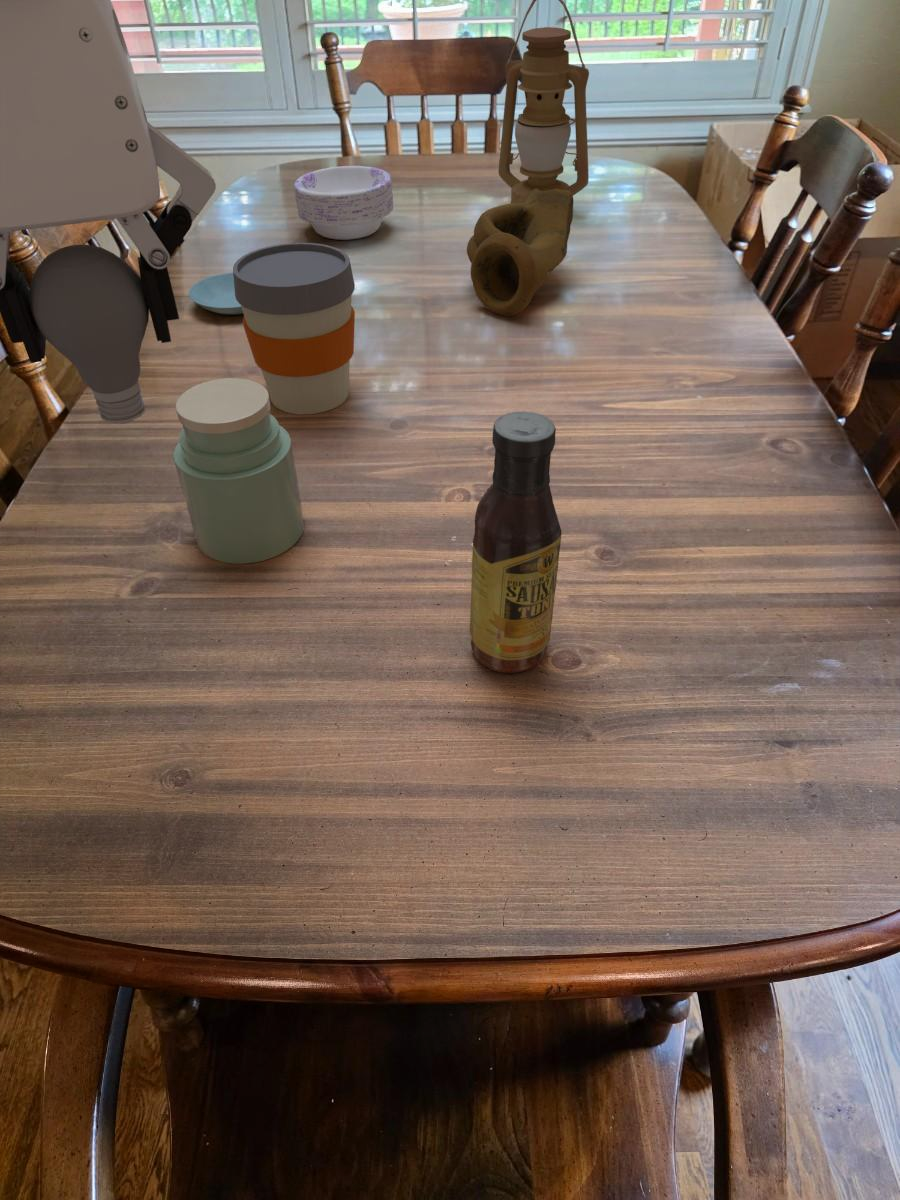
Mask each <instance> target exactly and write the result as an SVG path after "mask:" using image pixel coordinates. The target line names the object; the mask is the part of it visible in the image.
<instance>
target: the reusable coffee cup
mask: <svg viewBox="0 0 900 1200" xmlns="http://www.w3.org/2000/svg"><path fill="white" fill-rule="evenodd" d="M350 259H351V258H350V257H349V255H348V254H347V253H346V252H345V251H343V250H342V249H340V248H338V247H335V246H332V245H327V244H322V243H316V242H315V243H314V242H288V243H280V244H274V245H267V246H264V247H261V248H258V249H256V250H252V251H250V252H248V253H246V254H244V255H242V256H241V257H240V258H238V259H237V260H236V261H235V263H234V264H233V267H232V273H233V276H234V288H235V297H236V300H237V301H238V303H239V304H240V305H241V307H242V310H243V313H244V314H243V319H242V326H243V330H244V332H245V335H246V339H247V342H248V345H249V348H250V350H251V354H252V357H253V360H254V363H255V364H256V366H257V367H258V368H260V370H261V372H262V373H261V374H262V376H263V379H264V382H265V385H266V389H267V391H268V393H269V399H270V402H271V403H272V404H273V406H274V407H275V408H276V409H278V410H280V411H282V412H285V413H288V414H293V415H294V414H295V415H315V414H320V413H321V414H322V413H324V412H328V411H331V410H334V409H336V408H337V407H339V406H341V405H342V404H344V403H345V401H346V400H347V399H348V398H349V394H350V366H351V365H350V363H351V362H350V361H351V359H352V358H353V356H354V354H355V353H354V349H355V320H356V318H355V317H356V312H355V309H354V306H352V295H353V293H354V291H355V290H356V289H355V285H356V284H355V279H354V274H353V269H352V265H351V260H350Z"/></svg>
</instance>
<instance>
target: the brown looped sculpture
mask: <svg viewBox="0 0 900 1200" xmlns="http://www.w3.org/2000/svg"><path fill="white" fill-rule="evenodd" d="M573 216H574V196H572V194H571V192H570V191H568V190H566V191H563V190H560V189H553V190H550V191H539V190H538V189H537V188H536V189H534V190H533V191H532V192H531V193H529V194H528V195H527V196H525V197H522V198H521V199H519V200H518V201H517V202H516V203H512V204H510V203H507V204H502V205H497V206H494V207H491V208H489V209H487V210H485V211H484V212H483V213H482V214H481V215H480V216H479V217H478V218H477V221H476V223H475V225H474V228H473V235H472V236H471V237H470V238H469V240H468V242H467V245H466V254H467V257H468V260H469V262H470V264H471V265H470V279H471V282H472V287H473V289H474V292H475V294H476V296H477V298H478V299H479V301H480V302H481V304H483V306H484V307H485V308H486V309H487V310H489V311H490V312H492V313H493V314H494V313H495V314H497V315H500V316H505V317H507V316H513V315H517V314H518V313H520V312H522V311H523V310H524V309H526V308H527V307H528V305H530V302H532V300H533V297H534V295H535V293H537V292H538V291H539V290H540V289H541V287H542V286H543V284H544V283H545V281H546V278H547V277H548V274H549V273H551V272H552V271H554V270H555V269H556V268H557V267H558V266H559V265H561V263H562V262H563V260H564V259H565V258H566V256H567V253H568V241H569V237H570V233H571V227H572V223H573Z"/></svg>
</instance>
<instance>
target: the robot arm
mask: <svg viewBox="0 0 900 1200" xmlns="http://www.w3.org/2000/svg"><path fill="white" fill-rule="evenodd" d="M126 43H127V42H126V40H125V37H124V34H123V31H122V27H121V25H120V22H119V19H118V16H117V13H116V10H115V8H114V5H113V2H112V0H0V316H1V320H2V322H3V324H4V327H5V329H6V332H7V335H8V337H9V340H10V341H11V343H12V344H20V343H23V346H24V350H25V352H26V354H27V357H28V360H29V361H30V363H31V364H34V363H41V362H43V359H45V358H46V346H47V340H46V338H45V337H44V336H43V335H42V333H41V332H40V330H39V329H38V327H37V325H36V323H35V321H34V319H33V317H32V314H31V311H30V306H29V290H30V286H29V285H28V282H27V279H26V275H25V273H24V272H20V269H19V267H16V266H15V263H14V262H13V261H11V260H10V259H9V258H10V243H11V242H10V241H11V232H16V231H25V230H34V229H43V228H52V227H60V226H66V225H67V226H68V225H69V226H70V225H77V224H84V223H93V222H100V221H107V220H108V221H109V220H117V222H118V223H119V224H120V226H121V227H122V229H123V230H124V231H125V233H126V235H127V236H128V237H129V239H130V240H131V241H132V243H133V244H134V246H135V247H136V248H137V250H138V252H139V256H138V257H137V263H138V270H139V276H140V280H141V281H142V284H143V288H144V292H145V296H146V299H147V303H148V307H149V316H150V318H151V321H152V325H153V330H154V333H155V337H156V341H157V342H161V344H165V343H171V342H172V338H171V333H170V328H169V321H176V320H180V315H179V310H178V307H177V302H176V299H175V298H176V297H175V294H174V290H173V287H172V282H171V281H172V280H171V278H170V274H169V269H168V266H169V264H170V262H171V257H172V256H173V254H174V253H175V252H176V250H177V248H178V247H179V246H180V244H181V242H182V241H183V240H184V238H185V237H186V235H187V233H189V231H190V229H191V228H192V224H193V222H194V221H195V219H196V218H197V217H198V216H199V215H200V213H201V212H202V210H203V209H204V207H205V205H207V203H208V202H209V201H210V199H211V197H212V196H213V194H214V193H215V191H216V189H217V186H216V182H215V179H214V176H213V173H212V172H210V170H208V168H206V167H205V166H204V165H202V164H201V163H200V162H198V161H197V160H196V159H195V158H193V157H192V156H191V155H190V154H189V153H187V152H186V151H185V150H183V149H182V148H181V147H180V146H179V145H177V144H176V143H174V142H173V141H172V140H171V139H169V137H167V136H166V135H165V134H163V132H161V131H160V130H158V129H157V128H156V127H155V126H153V125H152V124H151V123H150V122H148V119H147V115H146V110H145V106H144V104H143V100H142V97H141V92H140V90H139V86H138V82H137V79H136V75H135V72H134V67H133V64H132V60H131V55H130V53H129V49H128V45H127V44H126ZM158 168H159V169H161V170H163V172H164V173H166V174H167V175H169V176H170V177H171V178H173V179H174V180H175V181H177V182H178V184H179V187H178V189H177V190H176V191H175V195H174V196H173V198H172V199H171V200H169V202H167V204H166V205H165V207H164V208H163V210H162V211H161V213H160V214H159V216H158V217H157V219H156V220H155V219H154V217H153V215H152V214H151V213H150V211H149V210H151V209H152V208H153V207H155V205H157V203H158V202H159V200H160V198H161V197H160V196H161V187H160V180H159V170H158Z"/></svg>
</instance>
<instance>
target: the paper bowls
mask: <svg viewBox="0 0 900 1200" xmlns="http://www.w3.org/2000/svg"><path fill="white" fill-rule="evenodd" d="M293 189H294V197H295V204H296V209H297V213H298V217H299V219H301V220H302V221H304V222H305V223H308V224H311V226H312V228H313V229H314V231H315V233H317V234H318V235H320V236H321V237H323V238H327V239H330V240H340V241H349V240H358V239H363V238H365V237H369V236H371V235H373V234H374V233H376V232H377V231H378V230H379V229H380V227H381V225H382V222H383V218H385V217H387V216H389V215H390V214H391V213H392V212H393V210H394V194H393V179H392V177H391V175H390V173H389V172H387V171H385V170H383V169H381V168H378V167H373V166H365V165H341V166H340V165H339V166H331V167H326V168H321V169H317V170H312V171H310V172H306V173H304V174H303V175H301V176H299V177H298V178H297V179H296V180H295V182H294V184H293Z"/></svg>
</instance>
